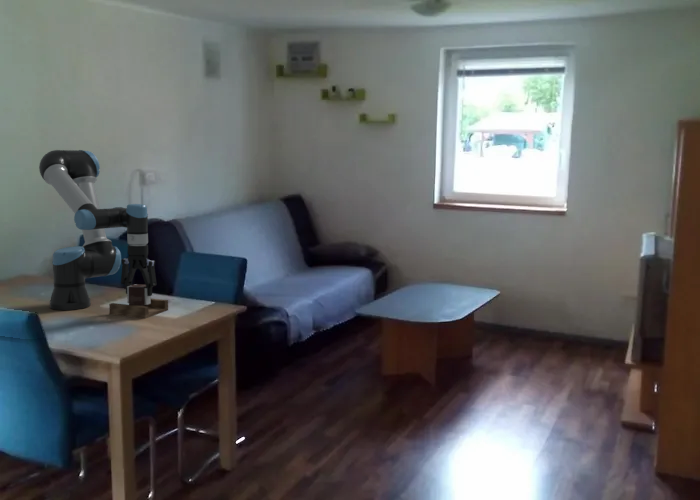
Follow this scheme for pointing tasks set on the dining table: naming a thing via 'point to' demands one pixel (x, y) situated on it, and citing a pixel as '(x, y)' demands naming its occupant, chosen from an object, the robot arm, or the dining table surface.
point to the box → (137, 294)
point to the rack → (139, 309)
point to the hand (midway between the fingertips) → (139, 303)
